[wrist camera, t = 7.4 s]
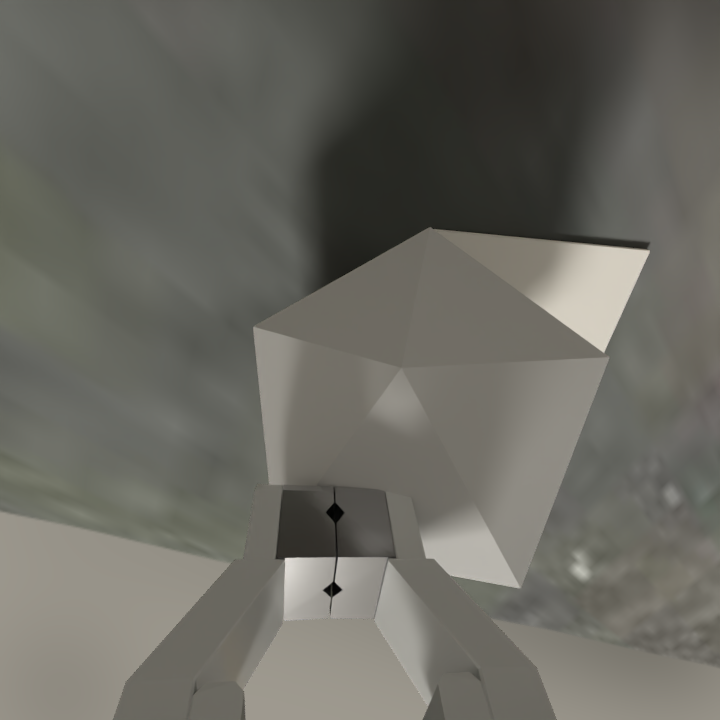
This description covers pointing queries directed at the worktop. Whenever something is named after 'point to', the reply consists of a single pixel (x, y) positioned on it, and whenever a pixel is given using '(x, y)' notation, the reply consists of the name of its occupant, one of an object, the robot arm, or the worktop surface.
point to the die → (430, 400)
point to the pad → (562, 277)
